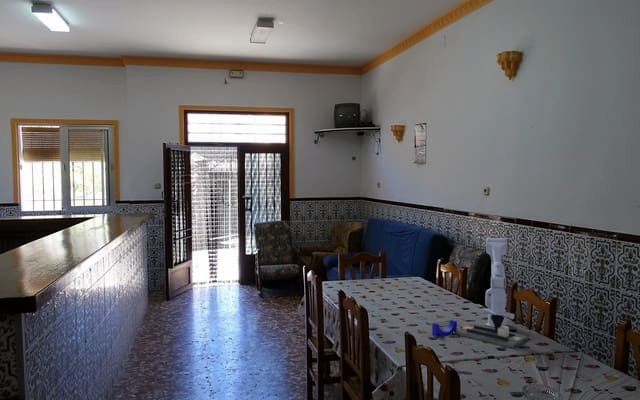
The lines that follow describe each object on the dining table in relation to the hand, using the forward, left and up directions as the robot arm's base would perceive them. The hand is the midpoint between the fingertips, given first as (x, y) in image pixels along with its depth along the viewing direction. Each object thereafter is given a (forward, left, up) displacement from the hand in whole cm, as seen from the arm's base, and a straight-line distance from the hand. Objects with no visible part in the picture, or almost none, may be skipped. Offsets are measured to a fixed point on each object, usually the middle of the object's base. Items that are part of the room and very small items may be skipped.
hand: (497, 331), depth 230 cm
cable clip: (+11, -22, -4) cm, 25 cm away
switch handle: (0, +3, -2) cm, 3 cm away
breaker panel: (0, -3, -3) cm, 5 cm away
